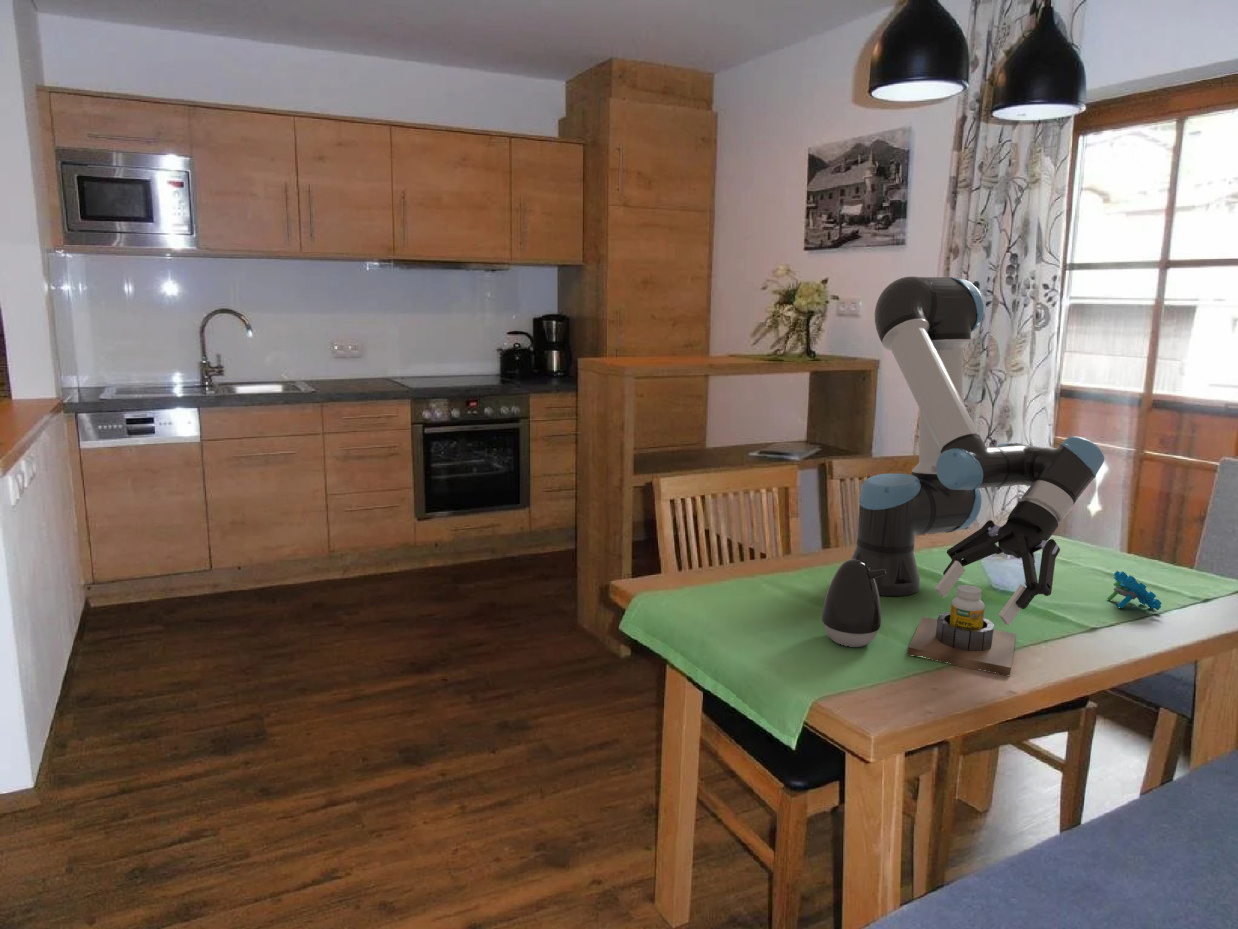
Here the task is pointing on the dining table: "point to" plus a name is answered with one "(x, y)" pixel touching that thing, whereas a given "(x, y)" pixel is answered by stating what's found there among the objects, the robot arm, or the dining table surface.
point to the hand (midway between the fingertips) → (970, 606)
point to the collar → (964, 635)
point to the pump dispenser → (853, 604)
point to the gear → (1133, 591)
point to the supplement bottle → (967, 608)
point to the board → (987, 660)
